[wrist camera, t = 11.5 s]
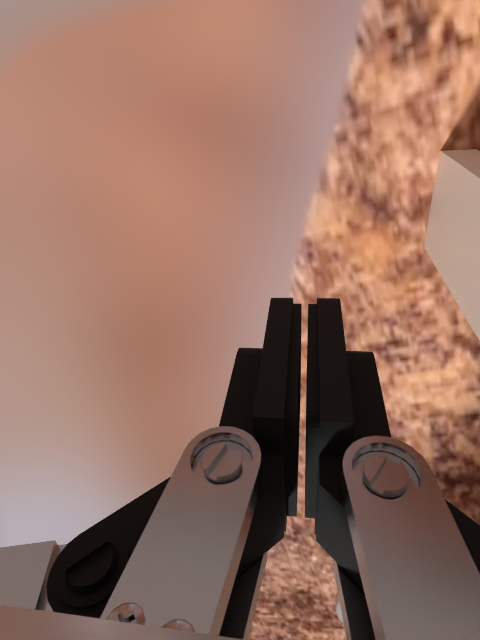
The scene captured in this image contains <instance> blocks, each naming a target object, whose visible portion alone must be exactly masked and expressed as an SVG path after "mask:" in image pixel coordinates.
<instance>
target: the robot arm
mask: <svg viewBox="0 0 480 640" xmlns="http://www.w3.org/2000/svg"><path fill="white" fill-rule="evenodd" d="M300 386H301V304H293V298H271V301H270V307H269V313H268V320H267V326H266V332H265V338H264V344H263V349H260V348H239V349H238V352H237V355H236V359H235V363H234V368H233V372H232V375H231V380H230V384H229V388H228V392H227V396H226V400H225V404H224V408H223V412H222V416H221V420H220V424H219V427H215V428H210V429H208V430H206V431H204V432H201V433H200V434H199V435H197V436H196V437H195V438H193V439H192V440H191V441H190V443H189V444H188V446H187V447H186V448H185V450H184V452H183V454H182V456H181V458H180V460H179V462H178V464H177V466H176V468H175V470H174V472H173V474H172V476H171V477H169V478H168V479H166V480H165V481H163V482H162V483H160V484H158V485H157V486H155V487H154V488H152V489H150V490H149V491H148V492H146V493H144V494H143V495H141V496H139V497H138V498H136V499H135V500H133V501H131V502H130V503H128V504H127V505H125V506H124V507H122V508H120V509H119V510H117V511H116V512H114V513H113V514H111V515H109V516H108V517H106V518H105V519H103V520H101V521H100V522H98V523H97V524H95V525H94V526H92V527H90V528H89V529H87V530H86V531H84V532H83V533H81V534H79V535H78V536H77V537H76V538H74V539H73V540H72V541H71V542H69V543H68V544H65V545H58V544H57V543H56V541H47V542H40V543H32V544H26V545H17V546H10V547H3V548H0V640H248V638H249V634H250V630H251V625H252V621H253V617H254V613H255V608H256V604H257V600H258V596H259V591H260V587H261V583H262V579H263V574H264V570H265V566H266V562H267V553H268V550H269V549H271V548H272V547H273V546H274V545H275V544H276V543H278V542H279V541H280V540H281V539H282V538H284V531H286V522H287V516H295V517H296V516H297V487H298V454H299V422H300ZM305 518H315V535H316V541H317V542H318V543H319V544H320V545H321V546H322V547H323V548H324V549H325V551H326V552H327V553H328V554H329V555H330V556H331V557H332V558H333V569H334V574H335V580H336V585H337V590H338V594H337V597H336V600H335V601H336V613H337V616H338V617H339V619H340V620H341V621H342V622H343V623H344V628H345V633H346V639H347V640H480V525H478V524H477V523H476V522H474V521H473V520H472V519H470V518H469V517H468V516H466V515H465V514H464V513H462V512H461V511H460V510H458V509H457V508H456V507H454V506H453V505H452V504H450V503H449V502H448V501H446V500H445V499H444V497H443V495H442V492H441V490H440V488H439V486H438V484H437V482H436V480H435V477H434V475H433V473H432V471H431V469H430V467H429V465H428V464H427V462H426V461H425V459H424V458H423V456H422V455H421V454H419V453H418V452H417V451H416V450H415V449H414V448H413V447H411V446H409V445H408V444H406V443H404V442H402V441H400V440H397V439H394V438H391V434H390V430H389V425H388V420H387V415H386V410H385V406H384V401H383V396H382V391H381V386H380V382H379V377H378V372H377V367H376V362H375V358H374V354H373V353H372V352H361V351H346V346H345V337H344V329H343V320H342V312H341V303H340V299H336V298H317V304H308V346H307V392H306V466H305Z"/></svg>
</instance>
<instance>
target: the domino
mask: <svg viewBox="0 0 480 640" xmlns="http://www.w3.org/2000/svg"><path fill="white" fill-rule="evenodd" d="M424 248H425V250H426V252H427V253H428V255H429V257H430V258H431V260H432V262H433V263H434V265H435V267H436V268H437V270H438V272H439V273H440V275H441V277H442V278H443V280H444V282H445V283H446V285H447V287H448V289H449V290H450V292H451V294H452V295H453V297H454V299H455V300H456V302H457V304H458V305H459V307H460V309H461V310H462V312H463V314H464V315H465V317H466V319H467V320H468V322H469V324H470V325H471V327H472V329H473V330H474V332H475V334H476V335H477V337H478V339H479V340H480V151H479V150H477V149H466V150H447V151H440V156H439V162H438V168H437V173H436V179H435V185H434V191H433V196H432V202H431V208H430V214H429V219H428V225H427V231H426V237H425V242H424Z"/></svg>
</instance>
